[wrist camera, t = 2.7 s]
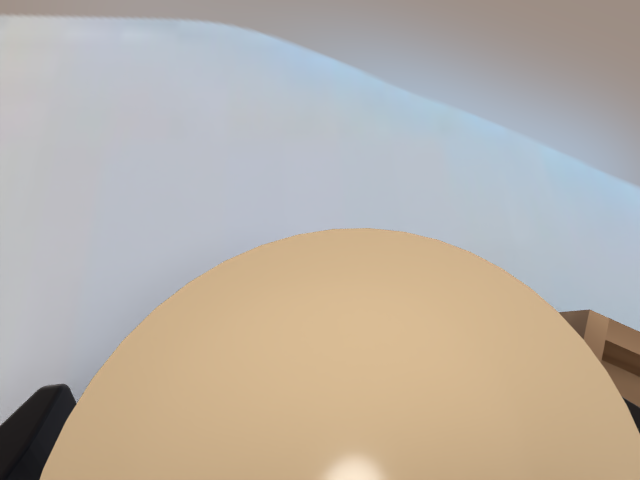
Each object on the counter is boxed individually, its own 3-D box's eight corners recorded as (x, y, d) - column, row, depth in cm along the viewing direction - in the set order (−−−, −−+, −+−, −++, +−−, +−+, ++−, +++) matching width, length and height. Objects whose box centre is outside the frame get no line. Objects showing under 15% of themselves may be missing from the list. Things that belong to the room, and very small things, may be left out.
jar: (317, 474, 15) (617, 1159, 2) (191, 421, 15) (-183, 873, 2) (364, 344, 16) (707, 358, 4) (250, 294, 16) (219, 139, 4)
